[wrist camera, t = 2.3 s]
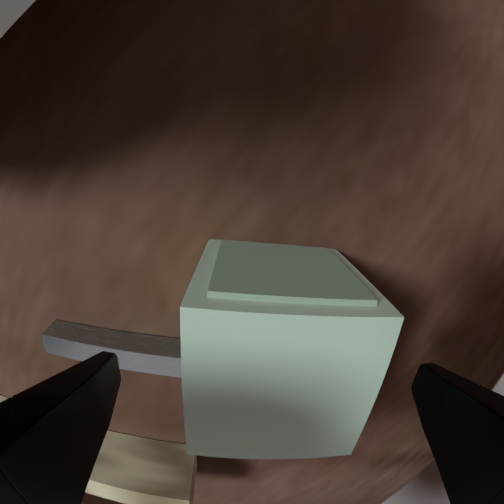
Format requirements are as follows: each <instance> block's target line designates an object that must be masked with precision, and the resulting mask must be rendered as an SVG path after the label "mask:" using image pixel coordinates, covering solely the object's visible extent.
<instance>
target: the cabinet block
mask: <svg viewBox="0 0 504 504" xmlns="http://www.w3.org/2000/svg"><path fill="white" fill-rule="evenodd" d="M403 320H404V316H403V315H402V314H401V313H400V312H399V311H398V310H397V309H396V308H395V307H394V306H393V305H392V304H391V303H390V302H389V301H388V300H387V299H386V298H385V297H384V296H383V295H382V294H381V293H380V292H379V291H378V290H377V289H376V288H375V287H374V286H373V285H372V284H371V283H370V282H369V281H368V280H367V279H366V278H365V277H364V276H363V275H362V274H361V273H360V272H359V271H358V270H357V269H356V268H355V267H354V266H353V265H352V264H351V263H350V262H349V261H348V260H347V259H346V258H345V257H344V256H343V255H342V254H341V253H340V252H338V251H337V250H336V249H329V248H320V247H308V246H296V245H284V244H271V243H259V242H246V241H233V240H214V239H209V241H208V243H207V245H206V247H205V250H204V252H203V254H202V257H201V259H200V261H199V263H198V266H197V268H196V270H195V273H194V275H193V277H192V280H191V282H190V284H189V287H188V289H187V291H186V294H185V296H184V299H183V301H182V303H181V306H180V339H181V372H182V393H183V411H184V425H185V438H186V450H187V454H189V455H198V456H208V457H220V458H237V459H303V458H319V457H332V456H342V455H351V453H352V451H353V449H354V447H355V445H356V443H357V441H358V439H359V437H360V434H361V432H362V430H363V428H364V426H365V423H366V421H367V419H368V417H369V414H370V412H371V410H372V407H373V405H374V403H375V400H376V398H377V395H378V393H379V390H380V388H381V385H382V382H383V380H384V377H385V374H386V372H387V369H388V366H389V363H390V360H391V358H392V355H393V352H394V349H395V346H396V343H397V339H398V336H399V333H400V330H401V327H402V323H403Z"/></svg>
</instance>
